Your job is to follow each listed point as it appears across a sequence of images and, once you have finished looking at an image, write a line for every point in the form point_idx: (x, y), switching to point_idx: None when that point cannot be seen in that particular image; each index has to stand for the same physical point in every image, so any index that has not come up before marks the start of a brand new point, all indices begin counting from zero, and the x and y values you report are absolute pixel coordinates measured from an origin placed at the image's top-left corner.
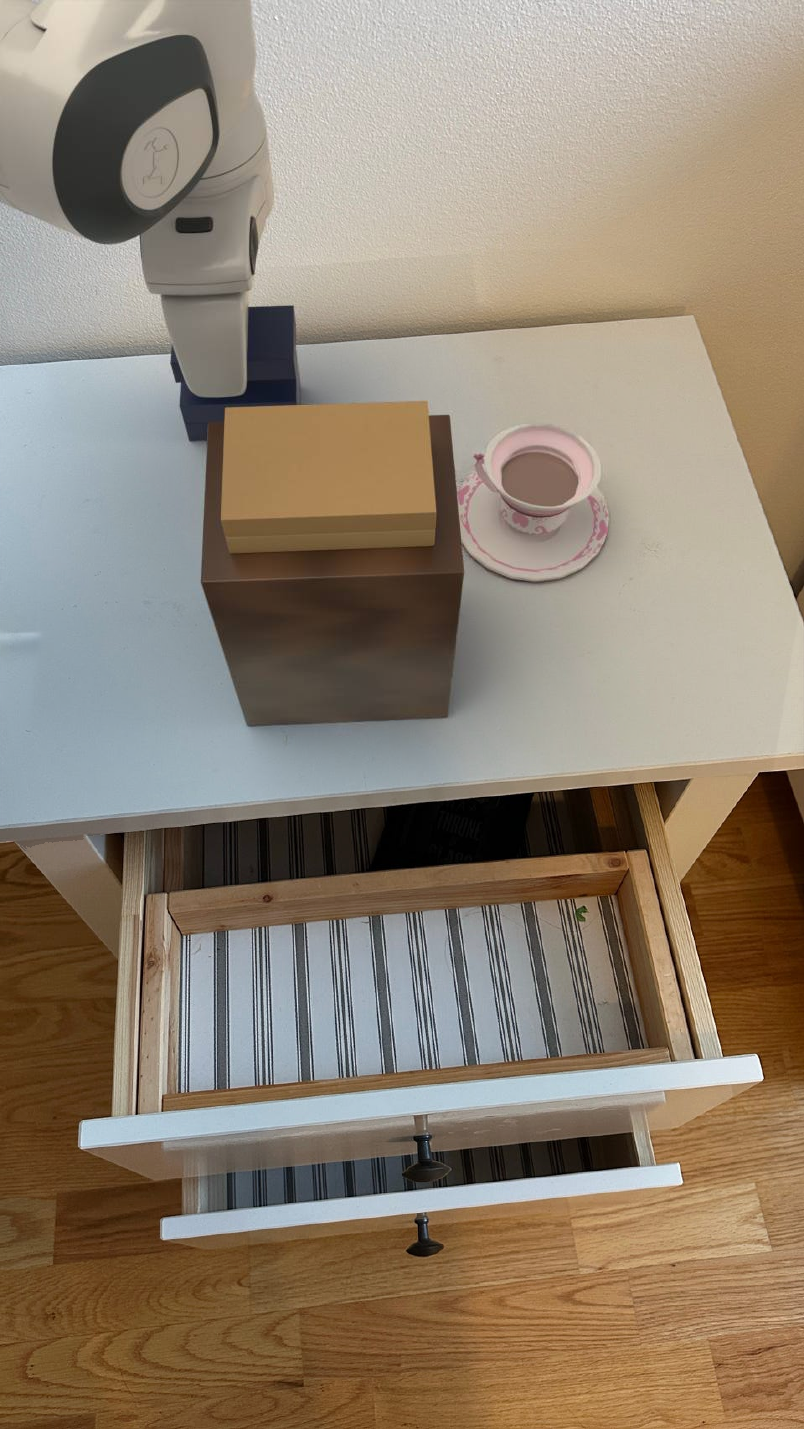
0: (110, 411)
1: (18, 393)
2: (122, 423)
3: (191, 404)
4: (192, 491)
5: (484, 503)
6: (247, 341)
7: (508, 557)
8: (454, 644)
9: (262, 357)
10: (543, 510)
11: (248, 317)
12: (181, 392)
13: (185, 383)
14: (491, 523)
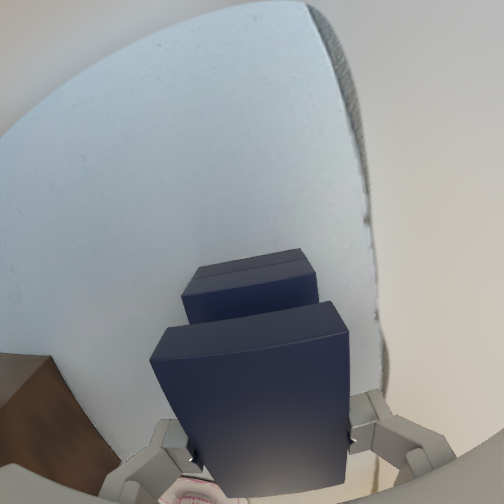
0: (237, 130)
1: (251, 8)
2: (215, 156)
3: (188, 316)
4: (122, 288)
5: (197, 487)
6: (254, 464)
7: None
8: None
9: (219, 478)
10: None
11: (317, 456)
12: (211, 293)
13: (235, 296)
14: (181, 487)
